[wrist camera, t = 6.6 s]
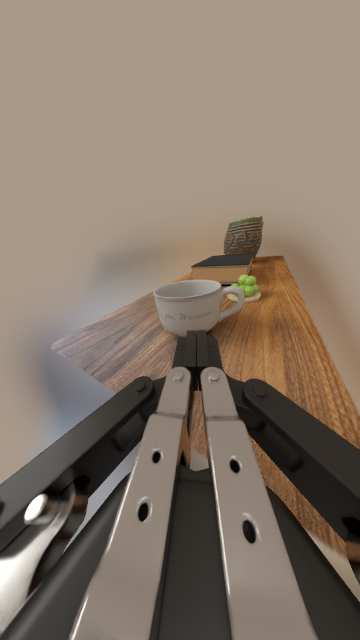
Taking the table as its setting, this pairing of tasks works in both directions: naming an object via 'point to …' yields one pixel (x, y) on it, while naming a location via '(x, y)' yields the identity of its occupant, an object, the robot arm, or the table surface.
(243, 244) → the pottery
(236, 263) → the book
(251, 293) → the grapes
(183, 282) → the teacup
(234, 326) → the table surface
